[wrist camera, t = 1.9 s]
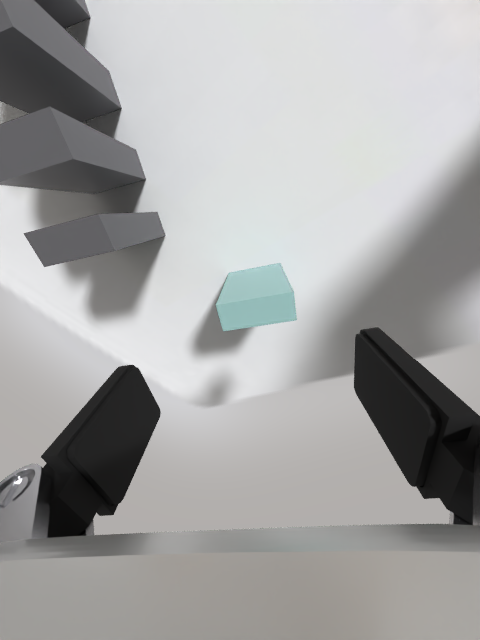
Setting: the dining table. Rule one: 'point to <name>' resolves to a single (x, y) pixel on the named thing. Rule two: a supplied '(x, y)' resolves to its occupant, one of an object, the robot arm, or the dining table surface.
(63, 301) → the dining table surface
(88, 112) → the domino
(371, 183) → the dining table surface
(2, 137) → the domino
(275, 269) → the domino teal
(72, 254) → the domino
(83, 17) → the domino
